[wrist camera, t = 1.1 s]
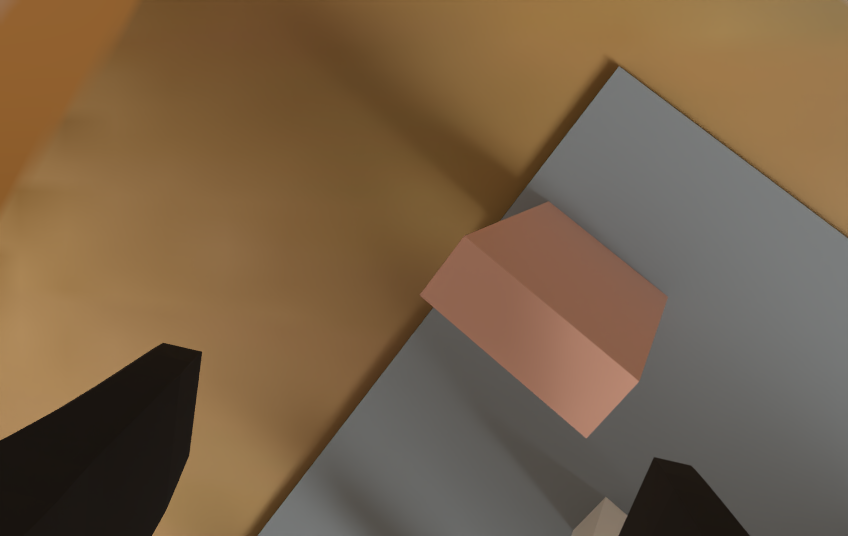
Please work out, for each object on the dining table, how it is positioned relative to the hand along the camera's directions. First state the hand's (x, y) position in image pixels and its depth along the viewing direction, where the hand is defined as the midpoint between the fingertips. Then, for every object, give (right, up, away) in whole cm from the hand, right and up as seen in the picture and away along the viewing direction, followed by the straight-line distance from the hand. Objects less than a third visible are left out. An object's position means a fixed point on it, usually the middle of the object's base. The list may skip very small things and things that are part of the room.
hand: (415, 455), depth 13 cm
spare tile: (+5, +3, +11) cm, 13 cm away
